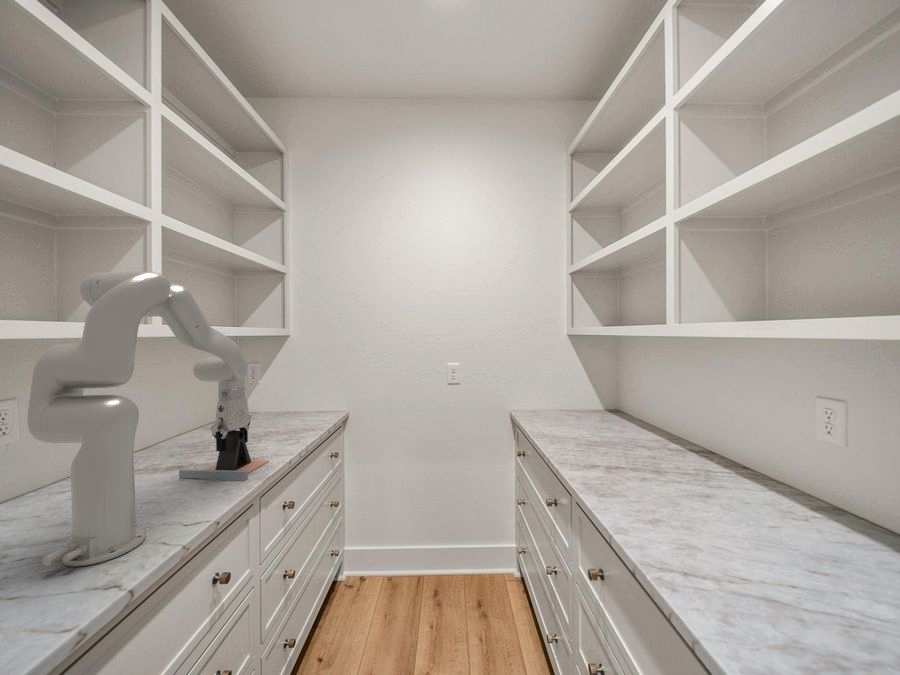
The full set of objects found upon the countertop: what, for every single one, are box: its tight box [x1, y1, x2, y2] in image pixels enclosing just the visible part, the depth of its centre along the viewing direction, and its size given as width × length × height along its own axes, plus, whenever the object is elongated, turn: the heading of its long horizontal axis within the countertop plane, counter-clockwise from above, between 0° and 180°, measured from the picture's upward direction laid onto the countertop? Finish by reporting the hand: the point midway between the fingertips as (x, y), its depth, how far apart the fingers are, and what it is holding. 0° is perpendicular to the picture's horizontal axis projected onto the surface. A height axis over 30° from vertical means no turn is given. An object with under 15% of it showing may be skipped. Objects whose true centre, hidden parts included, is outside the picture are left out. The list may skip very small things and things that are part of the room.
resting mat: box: [204, 459, 270, 474], centre depth 122 cm, size 13×16×1 cm
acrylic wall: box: [178, 468, 249, 482], centre depth 113 cm, size 1×22×2 cm, turn 82°
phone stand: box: [215, 429, 252, 471], centre depth 122 cm, size 9×6×12 cm, turn 172°
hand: (232, 446), depth 121 cm, fingers open, 9 cm apart
